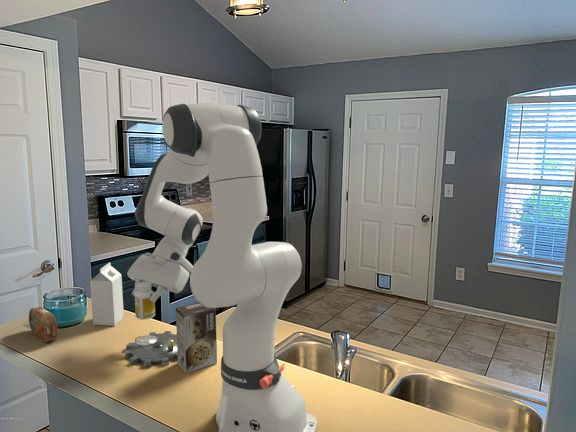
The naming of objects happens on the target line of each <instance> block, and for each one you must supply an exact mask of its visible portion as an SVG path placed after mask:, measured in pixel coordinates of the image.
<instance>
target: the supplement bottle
mask: <svg viewBox="0 0 576 432" xmlns="http://www.w3.org/2000/svg"><path fill="white" fill-rule="evenodd" d="M152 287H153V286H151V283H149V282H141V283H138V284H137V290H138V291H136V292H135V296H134V309H135V311H134V313H135V318H136V319H137V320H149V319H152V318H154V317H155V316H156V305H155V304H156V302H155V303H153V302H151V301H149V300H148V298H149V297H150V294H154V293H155V291H154V290H153V289H152Z"/></svg>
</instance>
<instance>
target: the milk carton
mask: <svg viewBox="0 0 576 432" xmlns="http://www.w3.org/2000/svg"><path fill="white" fill-rule="evenodd" d="M122 277H123V276H122V274H121V272H119V271H118V270H117V269H116V268H115V267H113V266H112V265H111V262H108V263H107V264H105V265H104V266H103V267H101V268H99V273H98V274H97V275H95V276H94V277H93V278H92V279H91V280H90V281H89V285H90V300H91V313H92V325H93V326H107V327H108V326H110V327H113V326H116V325H117V324H118V323H120V321H121V320H123V318H124V317H125V316H124V315H125V314H124V300H123V299H124V297H123V279H122Z"/></svg>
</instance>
